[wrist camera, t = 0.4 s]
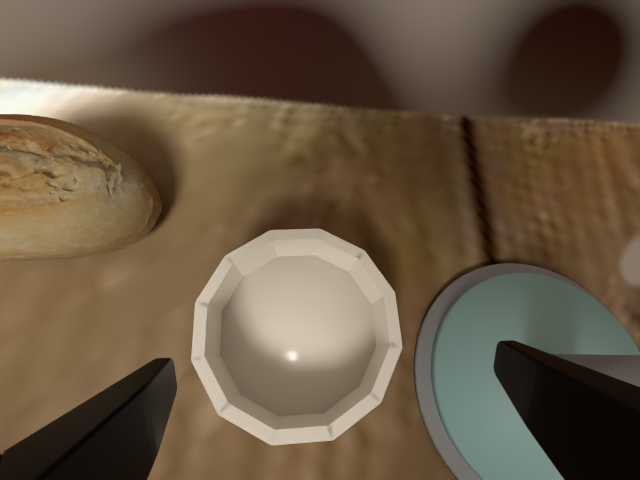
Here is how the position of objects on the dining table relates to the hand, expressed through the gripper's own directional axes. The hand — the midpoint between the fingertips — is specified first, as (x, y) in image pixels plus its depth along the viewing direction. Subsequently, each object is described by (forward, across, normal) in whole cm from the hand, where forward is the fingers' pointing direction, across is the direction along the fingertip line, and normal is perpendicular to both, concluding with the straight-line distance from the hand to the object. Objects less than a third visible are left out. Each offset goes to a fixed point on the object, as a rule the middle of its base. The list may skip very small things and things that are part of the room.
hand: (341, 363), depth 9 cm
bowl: (+13, +1, +6) cm, 15 cm away
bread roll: (+19, +18, -1) cm, 26 cm away
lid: (+10, -16, +10) cm, 21 cm away
